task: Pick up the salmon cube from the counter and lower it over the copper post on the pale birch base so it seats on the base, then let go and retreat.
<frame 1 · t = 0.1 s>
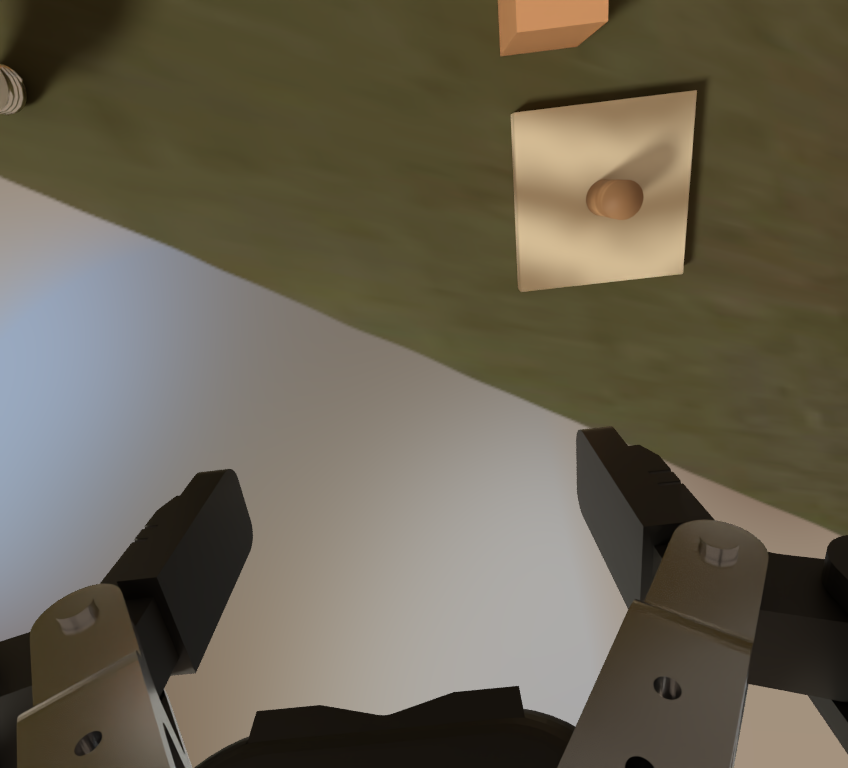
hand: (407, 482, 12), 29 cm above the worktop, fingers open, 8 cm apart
post base: (597, 197, 37), on the worktop
salmon cube: (537, 6, 33), on the worktop
light bulb: (15, 92, 35), on the worktop
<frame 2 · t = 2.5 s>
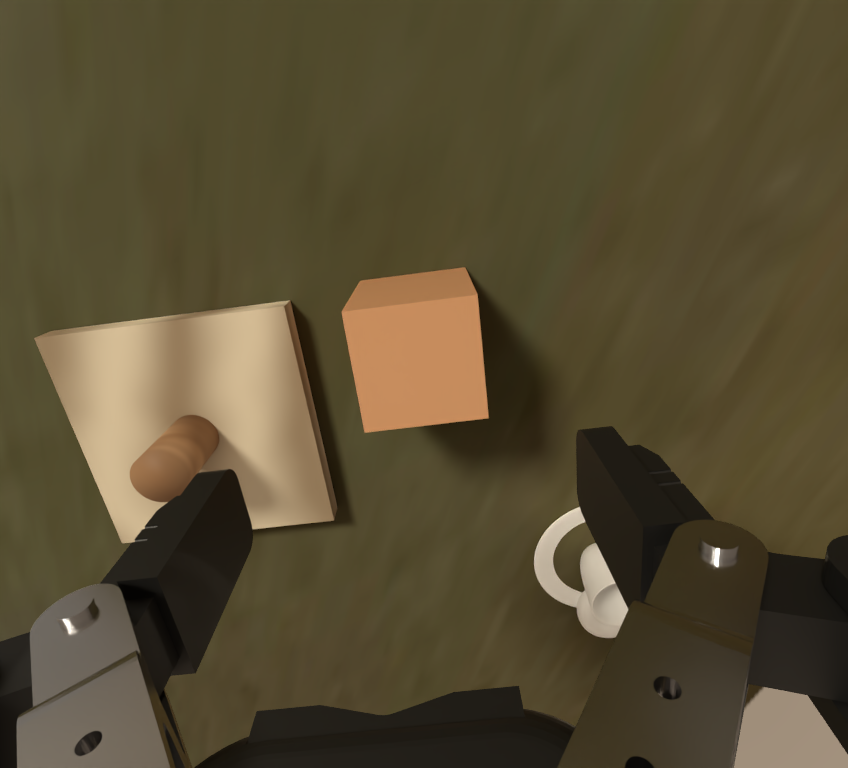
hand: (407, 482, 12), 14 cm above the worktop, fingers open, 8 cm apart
post base: (204, 425, 27), on the worktop
salmon cube: (419, 324, 25), on the worktop
white ring and cup: (554, 574, 32), on the worktop
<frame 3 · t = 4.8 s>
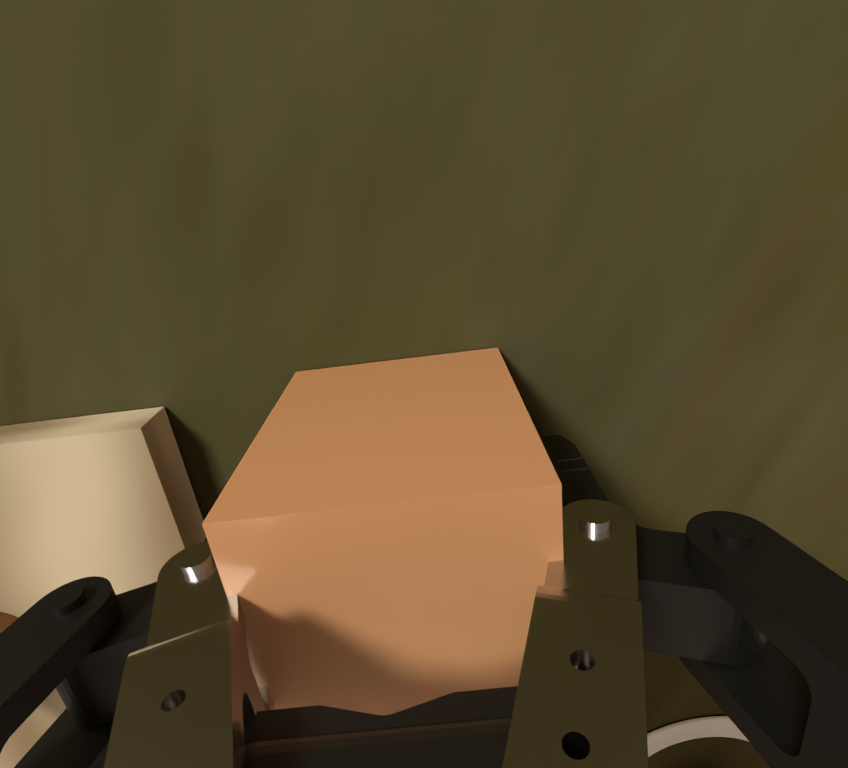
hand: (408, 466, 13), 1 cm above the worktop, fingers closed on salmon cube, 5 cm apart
post base: (32, 609, 16), on the worktop
salmon cube: (409, 448, 14), on the worktop, touching gripper
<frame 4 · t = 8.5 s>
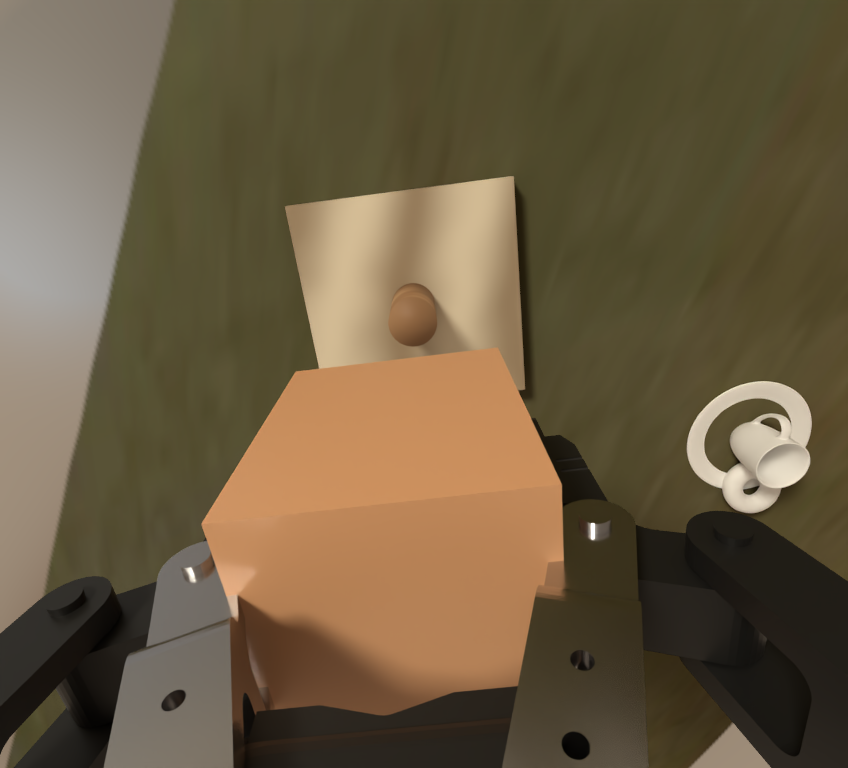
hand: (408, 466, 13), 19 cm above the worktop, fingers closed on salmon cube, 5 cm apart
post base: (413, 299, 30), on the worktop
salmon cube: (409, 448, 14), point 18 cm above the worktop, touching gripper
white ring and cup: (700, 457, 35), on the worktop
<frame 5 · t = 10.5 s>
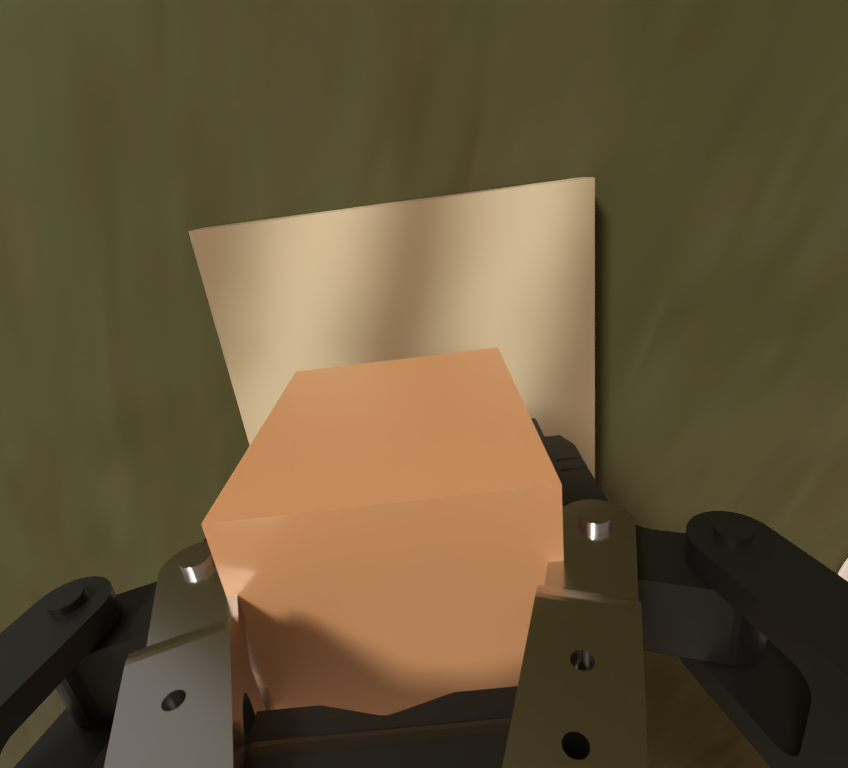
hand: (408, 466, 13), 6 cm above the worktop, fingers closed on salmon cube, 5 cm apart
post base: (415, 379, 18), on the worktop
salmon cube: (409, 448, 14), point 5 cm above the worktop, touching gripper
white ring and cup: (844, 601, 23), on the worktop
when the fingers open (3 cm above the worktop, at t = 12.1 s): salmon cube stays where it is, resting on post base.
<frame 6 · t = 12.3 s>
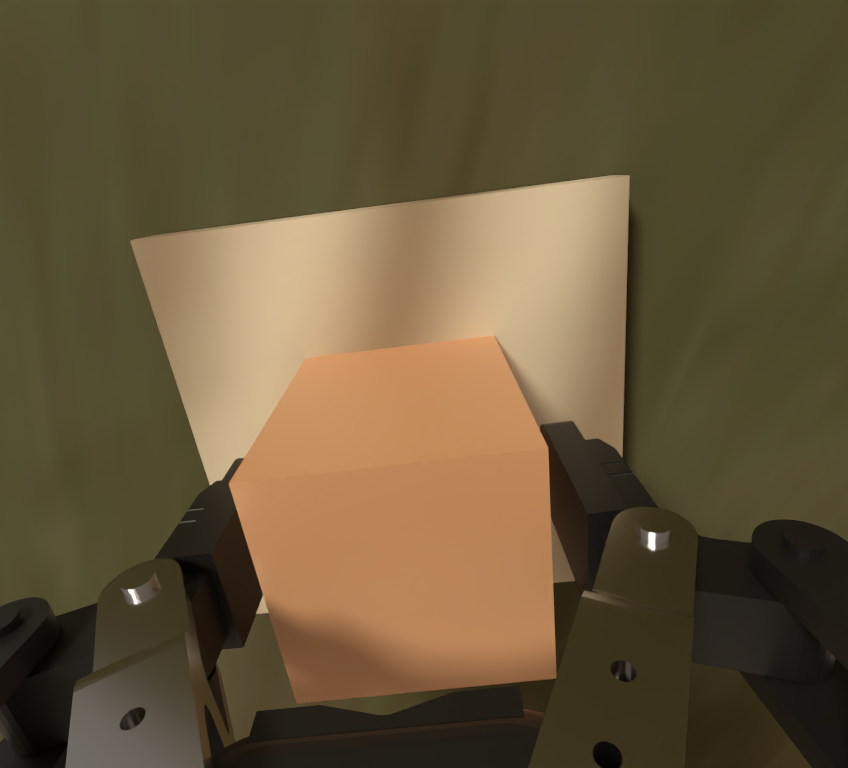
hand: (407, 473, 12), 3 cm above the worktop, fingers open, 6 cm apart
post base: (409, 413, 16), on the worktop
salmon cube: (411, 431, 14), point 1 cm above the worktop, touching post base
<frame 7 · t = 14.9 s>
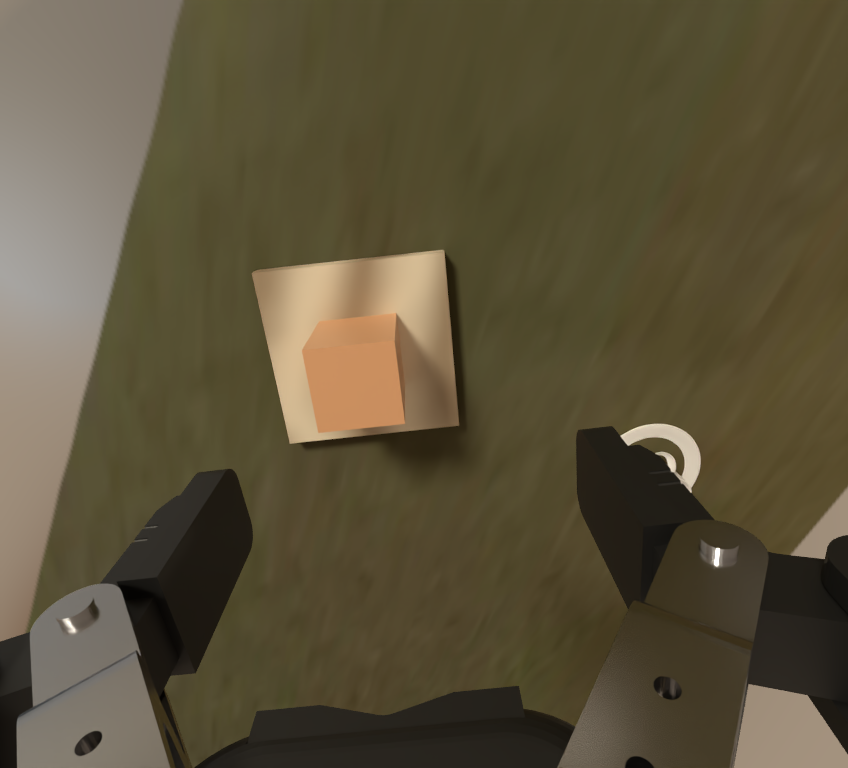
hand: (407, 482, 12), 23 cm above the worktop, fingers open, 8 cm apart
post base: (363, 348, 35), on the worktop
salmon cube: (363, 353, 34), point 1 cm above the worktop, touching post base
white ring and cup: (609, 486, 41), on the worktop
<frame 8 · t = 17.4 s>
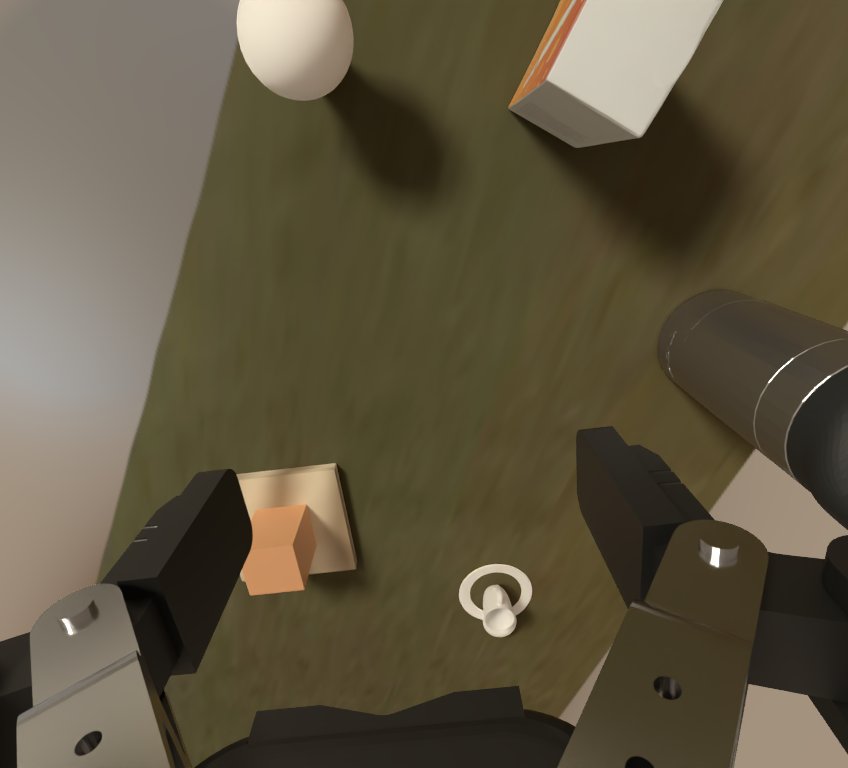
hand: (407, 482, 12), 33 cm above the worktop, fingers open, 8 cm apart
post base: (288, 520, 52), on the worktop
small box: (568, 76, 38), on the worktop
salmon cube: (286, 527, 51), point 1 cm above the worktop, touching post base
light bulb: (320, 63, 38), on the worktop
white ring and cup: (471, 601, 57), on the worktop
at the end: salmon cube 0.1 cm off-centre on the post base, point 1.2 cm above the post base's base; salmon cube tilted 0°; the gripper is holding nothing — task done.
